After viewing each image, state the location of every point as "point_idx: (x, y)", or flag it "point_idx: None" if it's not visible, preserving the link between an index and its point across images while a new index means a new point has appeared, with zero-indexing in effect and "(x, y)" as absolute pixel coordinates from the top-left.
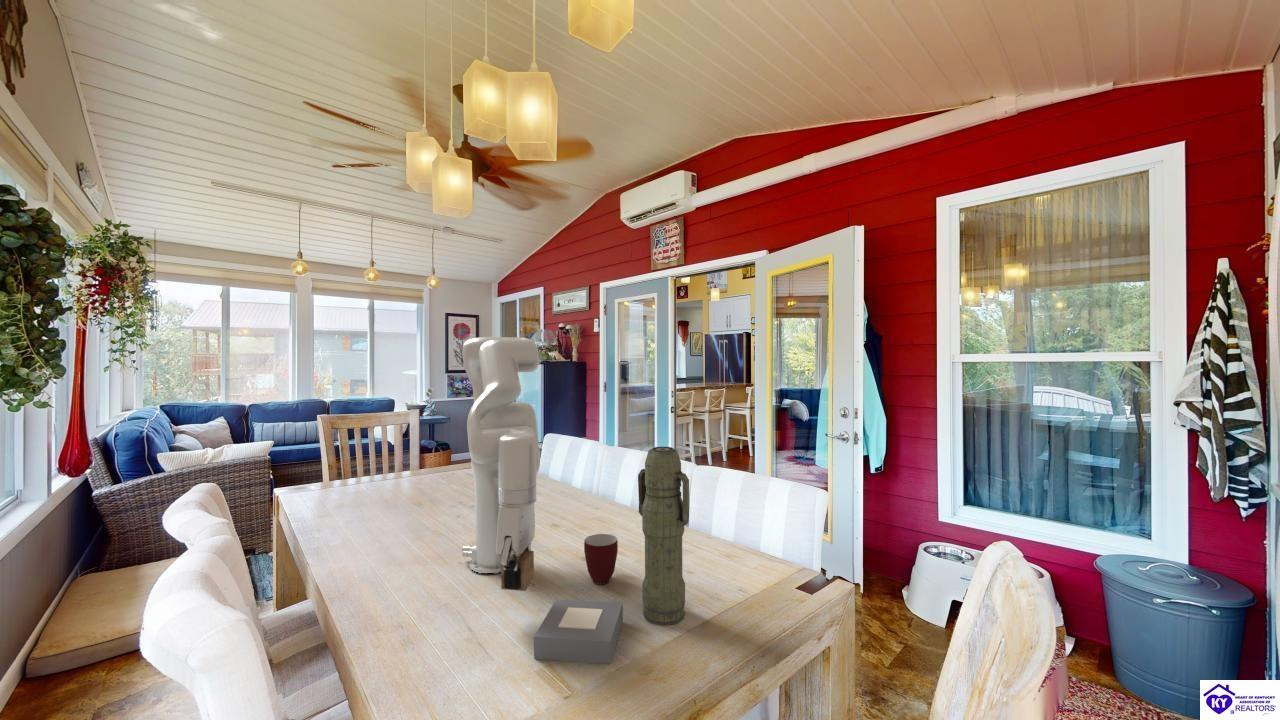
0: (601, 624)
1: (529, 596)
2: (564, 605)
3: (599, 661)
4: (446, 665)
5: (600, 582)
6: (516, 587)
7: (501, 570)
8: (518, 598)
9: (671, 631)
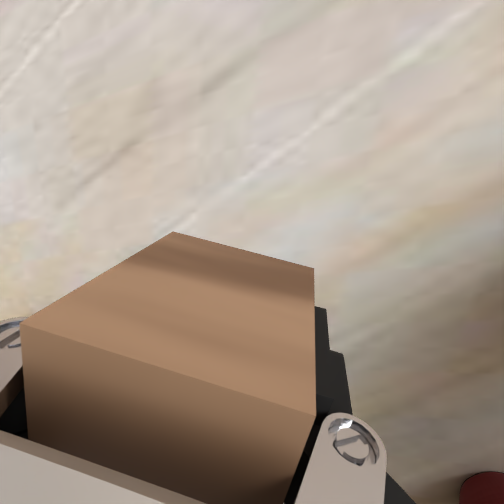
0: None
1: (438, 271)
2: None
3: None
4: (17, 65)
5: (461, 494)
6: None
7: (102, 274)
8: (433, 230)
9: None
